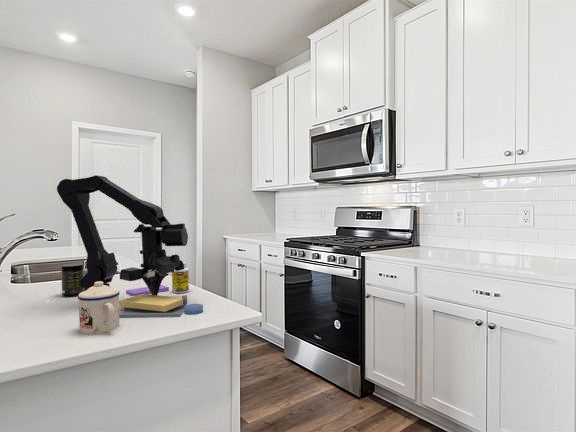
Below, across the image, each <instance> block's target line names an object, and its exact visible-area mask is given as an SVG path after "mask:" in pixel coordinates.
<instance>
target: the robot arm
mask: <svg viewBox="0 0 576 432" xmlns="http://www.w3.org/2000/svg"><path fill="white" fill-rule="evenodd" d="M98 191H99V192H100V193H102V194H103V195H105V196H107V197H108V198H110V199H112V200H113V201H115V202H116V203H118V204H119V205H121V206H122V207H124V208H125V209H127V210H129V212H130V213H131V214H132V216H133V217H134V218H135V219H136V220H138V221H139V222H140V224H138V226H137V227H136V228H135V229H134V230H133V233H141V250H139V254H140V255H142V263H140V268H138V267H134V266H133V267H127V268H123V269H121V270H120V272H119V280H123V281H126V282H127V281H128V282H135V281H139V280H142V281H143V282H144V284H145V285H146V287H148V288H149V290H150V292H151V294H150V295H159V293H158V291H159V288H160V285H162V282H163V280H164V279H165V278H166V277H167V276H169V273H171V274H172V272H174V269H175V270H176V271H179V270H183V269H184V263H183V262H184V261H183V260H180V255H178V254H172V255H168V256H167V252H166V249H164V248H163V245H164V246H165V247H187V244H188V241H189V233H188V232H187V231H188V230H187V228H186V223H173V224H171V222H170V221H169V220H168V219H167V217H166V216H165V215H164V210H163V208H162V207H161V206H160V205H156V204H154V203H152V202H149V201H146V200H143V199H140V198H138V197H137V196H136V195H133V194H132V193H130V192H129V191H127V190H125V189H124V188H122V187H121V186H119V185H117V184H116V183H114V182H113V181H111V180H110V179H108V177H106V176H104V175H98V174H97V175H92V176H89V177H83V178H82V177H81V178H75V179H71V178H65V179H62V180H60V182H58V185H56V192H57V194H58V195H59V197H60V199H61V201H62V202H63V204H64V205H66V207H68V208H69V209H70V211H71V213H72V217H73V219H74V221H75V224H76V226H77V229H78V233H79V234H80V238H81V240H82V242H83V243H82V244H83V247H84V248H85V251H86V257H87V258H86V263H85V265H86V271H87V272H86V274H84V277H83V278H82V279H81V280H80V281H79V282H80V285H81V287H82V288H84V291H86V290H88V289H89V288H90V287H93V286H94V283H95V282H98V281H102V282H103V285H106V286H109V287H111V286H110V283H112V281H113V277H115V275H116V274H117V272H118V266H119V263H118V261H117V260H116V254H115V252H110V253H109V252H108V251H107V250H106V249H105V246H104V243H103V241H102V238H101V236H100V234H99V231H98V227H97V226H96V223H95V219H94V216H93V215H92V211H91V209H90V198H91V196H90V194H92V193H96V192H98Z"/></svg>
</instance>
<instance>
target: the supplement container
mask: <svg viewBox="0 0 576 432" xmlns="http://www.w3.org/2000/svg"><path fill="white" fill-rule="evenodd" d="M84 266H85V265H84V263H83V262H81V263H80V262H78V263H77V262H76V263H66V264H61V265H60V272H61V274H60V275H61V295H62V296H63V297H65V298H74V297H78V295H79V294H80V293H81V292H83V291H84V288H82V287H81V285H80V282H79V281H80V280H81V279H82V278H83V277H84V276H85V273H84V271H85V270H84V269H85V268H84Z"/></svg>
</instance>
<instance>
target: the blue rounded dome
mask: <svg viewBox="0 0 576 432" xmlns="http://www.w3.org/2000/svg"><path fill="white" fill-rule="evenodd" d="M203 312H204V305H203V304H201V303H190V304H186V306H184V313H183V314H184V315H193V316H194V315H200V314H202V313H203Z"/></svg>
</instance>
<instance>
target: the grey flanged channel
mask: <svg viewBox="0 0 576 432" xmlns="http://www.w3.org/2000/svg"><path fill="white" fill-rule="evenodd" d="M186 305H187V304H186ZM186 305H180V306H178V307H175V308H173V309H170V310H168V311H165V312H163V311H154V310H145V309H136V308H127V307H123V309H122V310H121V311H119V319H128V318H129V319H134V318H135V319H138V318H139V319H141V318H145V319H146V318H147V319H148V318H180V317H182V315H183V314H185V313H184V306H186Z"/></svg>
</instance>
